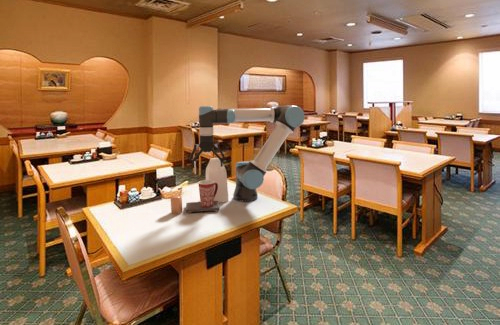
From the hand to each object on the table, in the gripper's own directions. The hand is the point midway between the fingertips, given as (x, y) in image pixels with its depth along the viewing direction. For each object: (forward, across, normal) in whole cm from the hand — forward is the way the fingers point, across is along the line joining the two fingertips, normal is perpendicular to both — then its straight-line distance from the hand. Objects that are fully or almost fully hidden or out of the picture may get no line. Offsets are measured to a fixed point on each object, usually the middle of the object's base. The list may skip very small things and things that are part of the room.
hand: (207, 173), depth 180 cm
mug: (+18, -1, 0) cm, 19 cm away
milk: (+21, -6, -15) cm, 27 cm away
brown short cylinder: (+21, +18, +3) cm, 27 cm away
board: (+21, +4, 0) cm, 21 cm away
